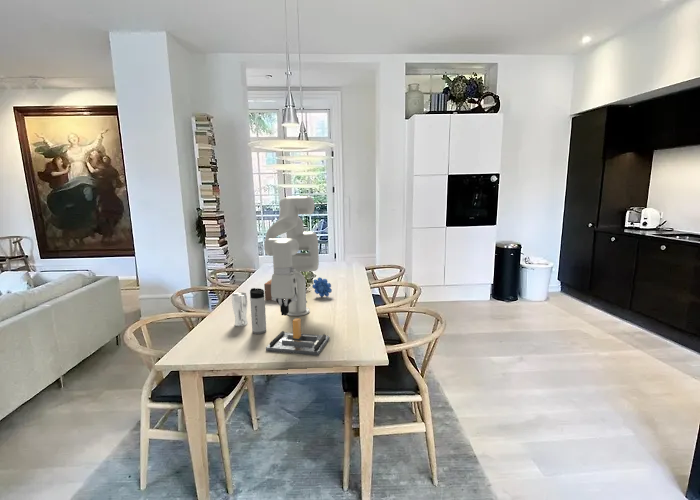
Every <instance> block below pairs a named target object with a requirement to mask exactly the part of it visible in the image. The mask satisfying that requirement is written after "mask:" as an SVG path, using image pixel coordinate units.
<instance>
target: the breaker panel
mask: <svg viewBox="0 0 700 500" xmlns="http://www.w3.org/2000/svg"><path fill="white" fill-rule="evenodd" d="M284 332H285V331H284ZM323 335H324V334H323ZM323 335H322V334H311V333H310V334H309V333H301V336H302V340H301V341H298V340H292V338H293V332H285V333H284V334H283V335H282V336H281V337H280V338H279V339H278V340H277V341H276V342H275V343H274V344H273V345H272V346H270V343H268V345H266V347H265V351H266V352H277V353H285V354H287V353H288V354H295V355H297V354H298V355H306V356H308V355H310V356H320V354H321V352H322V351H323V349H324V347H325V346H326V344H327V343H328V342H329V340H330V335H326V337H325V339H324V340H323V341H322V343H321V344H320V346H319V347H318V348H317V349H316V350H315V349H314V347H315V345H316V344H317V343H318V341H319V340H320V338H321V337H322V336H323Z"/></svg>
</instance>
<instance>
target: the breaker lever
mask: <svg viewBox="0 0 700 500" xmlns="http://www.w3.org/2000/svg"><path fill="white" fill-rule="evenodd" d="M292 333H293V338H292V340H298V341H301V340H302V336H301V334H302V319H301V318H297V317H295V318H294V319H293V320H292Z"/></svg>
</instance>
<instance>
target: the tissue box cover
mask: <svg viewBox="0 0 700 500" xmlns="http://www.w3.org/2000/svg"><path fill="white" fill-rule="evenodd" d="M271 280H272V278H271V279H270V280H268V281H267V282H265V283H264V298H265V301H273V300H272V296H271Z"/></svg>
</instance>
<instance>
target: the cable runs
mask: <svg viewBox="0 0 700 500" xmlns="http://www.w3.org/2000/svg"><path fill="white" fill-rule="evenodd" d="M284 333H285V331H284V330H282V331H281V332H280V333H278V334H277V336H275V337H274V338H273V339H272V340H271V341H270V342H269V344H270V346H272V345H273V344H274V343H275V342H276V341H277V340H278V339H279V338H280V337H281V336H282V335H283V334H284ZM326 336H327V334H325V333H324V334H323V336H322V337H321V338H320V340H319V341H318V343H317V344H316V345H315V347H314V349H315V350H316V349H317V348H318V347H319V346H320V344H321V343H322V341H323V340H324V339H325V337H326Z"/></svg>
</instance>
